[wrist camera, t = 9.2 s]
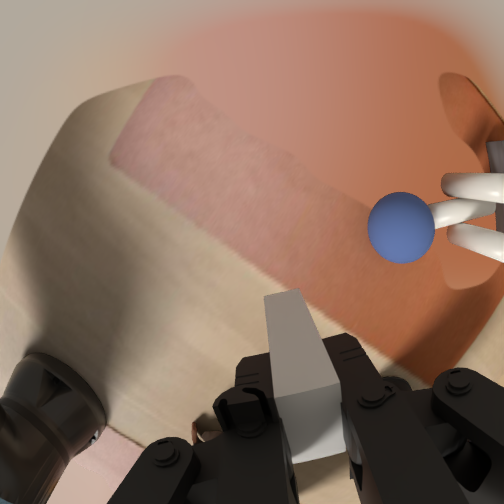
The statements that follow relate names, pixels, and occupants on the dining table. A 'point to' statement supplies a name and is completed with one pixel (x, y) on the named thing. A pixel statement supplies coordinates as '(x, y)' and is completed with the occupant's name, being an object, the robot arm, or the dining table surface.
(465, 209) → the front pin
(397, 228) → the ball
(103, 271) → the dining table surface
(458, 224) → the pin
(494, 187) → the pin
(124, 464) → the dining table surface
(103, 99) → the dining table surface
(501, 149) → the back wall
